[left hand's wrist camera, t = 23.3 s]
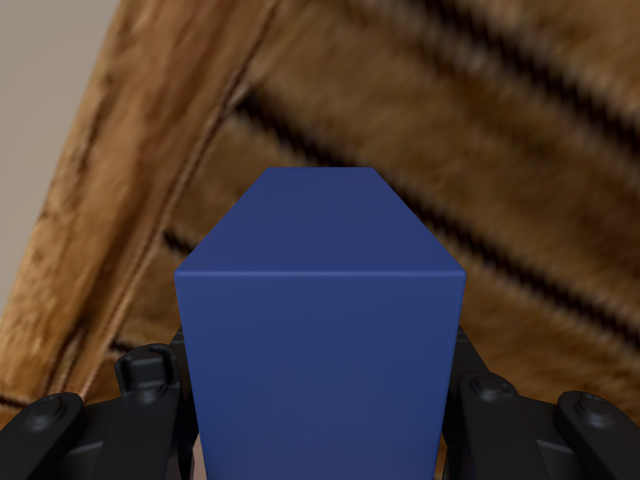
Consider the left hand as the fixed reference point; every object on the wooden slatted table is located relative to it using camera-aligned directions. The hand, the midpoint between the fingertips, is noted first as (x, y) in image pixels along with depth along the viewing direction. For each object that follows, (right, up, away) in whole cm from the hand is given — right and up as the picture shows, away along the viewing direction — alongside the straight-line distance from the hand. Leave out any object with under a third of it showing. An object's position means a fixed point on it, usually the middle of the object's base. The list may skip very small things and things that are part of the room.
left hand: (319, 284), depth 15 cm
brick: (0, +1, +2) cm, 3 cm away
